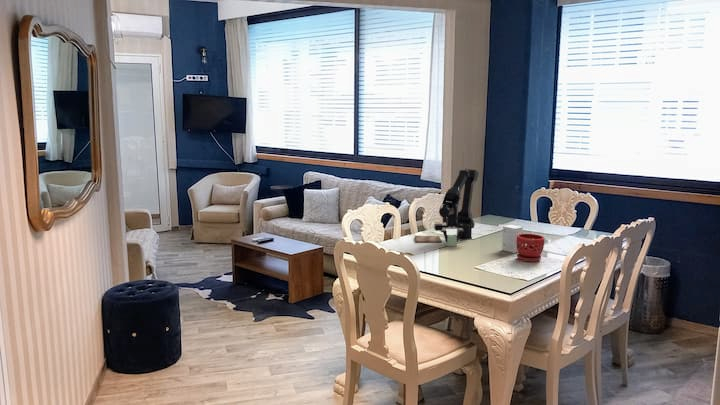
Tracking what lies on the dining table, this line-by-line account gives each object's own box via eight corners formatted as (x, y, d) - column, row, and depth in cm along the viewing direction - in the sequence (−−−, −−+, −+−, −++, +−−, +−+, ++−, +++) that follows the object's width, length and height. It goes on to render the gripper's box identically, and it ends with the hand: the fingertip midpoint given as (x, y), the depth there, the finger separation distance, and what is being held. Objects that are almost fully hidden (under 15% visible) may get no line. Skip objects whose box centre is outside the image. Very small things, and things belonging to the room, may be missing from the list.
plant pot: (539, 264, 267) (540, 240, 264) (512, 260, 273) (513, 237, 271) (546, 258, 277) (547, 234, 275) (520, 254, 284) (521, 231, 282)
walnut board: (439, 237, 320) (439, 235, 320) (441, 242, 308) (441, 240, 308) (414, 237, 321) (414, 235, 320) (416, 242, 309) (416, 240, 309)
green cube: (455, 243, 307) (455, 234, 306) (456, 245, 302) (456, 236, 301) (446, 243, 307) (446, 234, 306) (447, 245, 302) (447, 236, 301)
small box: (522, 251, 290) (523, 226, 288) (514, 253, 286) (515, 228, 284) (509, 248, 296) (510, 224, 294) (501, 250, 292) (502, 226, 290)
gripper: (467, 211, 309) (466, 238, 312) (433, 211, 309) (433, 238, 312) (470, 215, 298) (469, 243, 301) (435, 215, 298) (434, 243, 301)
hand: (451, 242), depth 304 cm, fingers closed on green cube, 5 cm apart
